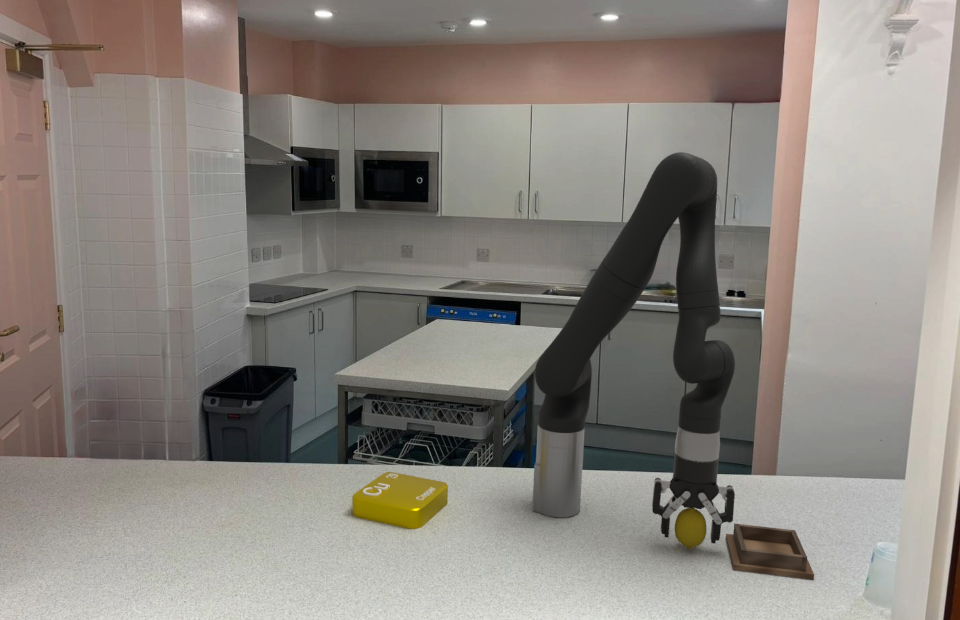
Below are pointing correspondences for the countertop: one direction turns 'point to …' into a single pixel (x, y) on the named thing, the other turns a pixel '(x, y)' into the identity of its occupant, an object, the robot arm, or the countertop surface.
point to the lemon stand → (768, 551)
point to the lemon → (690, 527)
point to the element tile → (400, 500)
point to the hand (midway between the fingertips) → (689, 538)
